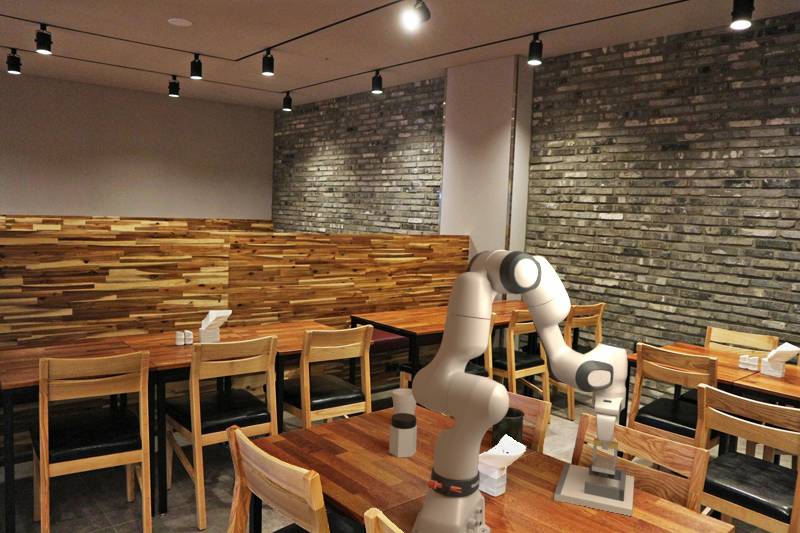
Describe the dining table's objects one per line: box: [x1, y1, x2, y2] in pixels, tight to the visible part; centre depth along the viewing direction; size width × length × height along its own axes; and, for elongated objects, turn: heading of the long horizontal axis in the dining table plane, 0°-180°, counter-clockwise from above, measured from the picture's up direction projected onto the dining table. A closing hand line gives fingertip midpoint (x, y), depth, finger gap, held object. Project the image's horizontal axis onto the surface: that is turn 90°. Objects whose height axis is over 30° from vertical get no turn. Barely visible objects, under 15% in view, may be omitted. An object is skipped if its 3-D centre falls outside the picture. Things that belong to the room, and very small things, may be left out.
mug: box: [491, 407, 525, 448], centre depth 193 cm, size 11×15×12 cm
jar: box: [388, 413, 418, 459], centre depth 187 cm, size 9×8×12 cm
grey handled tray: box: [591, 438, 619, 479], centre depth 163 cm, size 9×6×9 cm
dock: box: [553, 462, 635, 517], centre depth 164 cm, size 22×20×5 cm
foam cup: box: [391, 387, 417, 416], centre depth 210 cm, size 10×9×13 cm
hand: (605, 446), depth 162 cm, fingers closed on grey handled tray
